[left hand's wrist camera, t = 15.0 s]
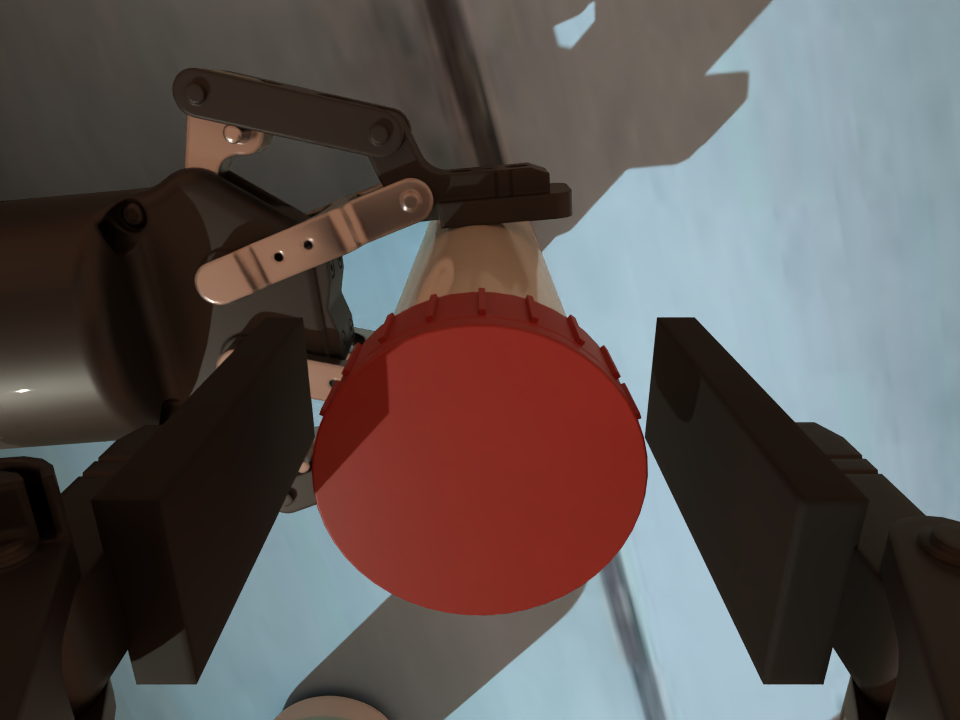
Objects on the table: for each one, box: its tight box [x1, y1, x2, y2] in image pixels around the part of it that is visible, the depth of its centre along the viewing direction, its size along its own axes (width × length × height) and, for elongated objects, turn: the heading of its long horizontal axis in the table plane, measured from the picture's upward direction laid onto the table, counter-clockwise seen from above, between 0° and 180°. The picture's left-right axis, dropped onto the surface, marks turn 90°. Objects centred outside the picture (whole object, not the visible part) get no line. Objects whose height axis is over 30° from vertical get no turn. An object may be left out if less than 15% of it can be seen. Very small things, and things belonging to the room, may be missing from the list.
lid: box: [312, 288, 648, 615], centre depth 11 cm, size 5×5×2 cm
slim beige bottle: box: [394, 220, 566, 317], centre depth 19 cm, size 4×4×17 cm
